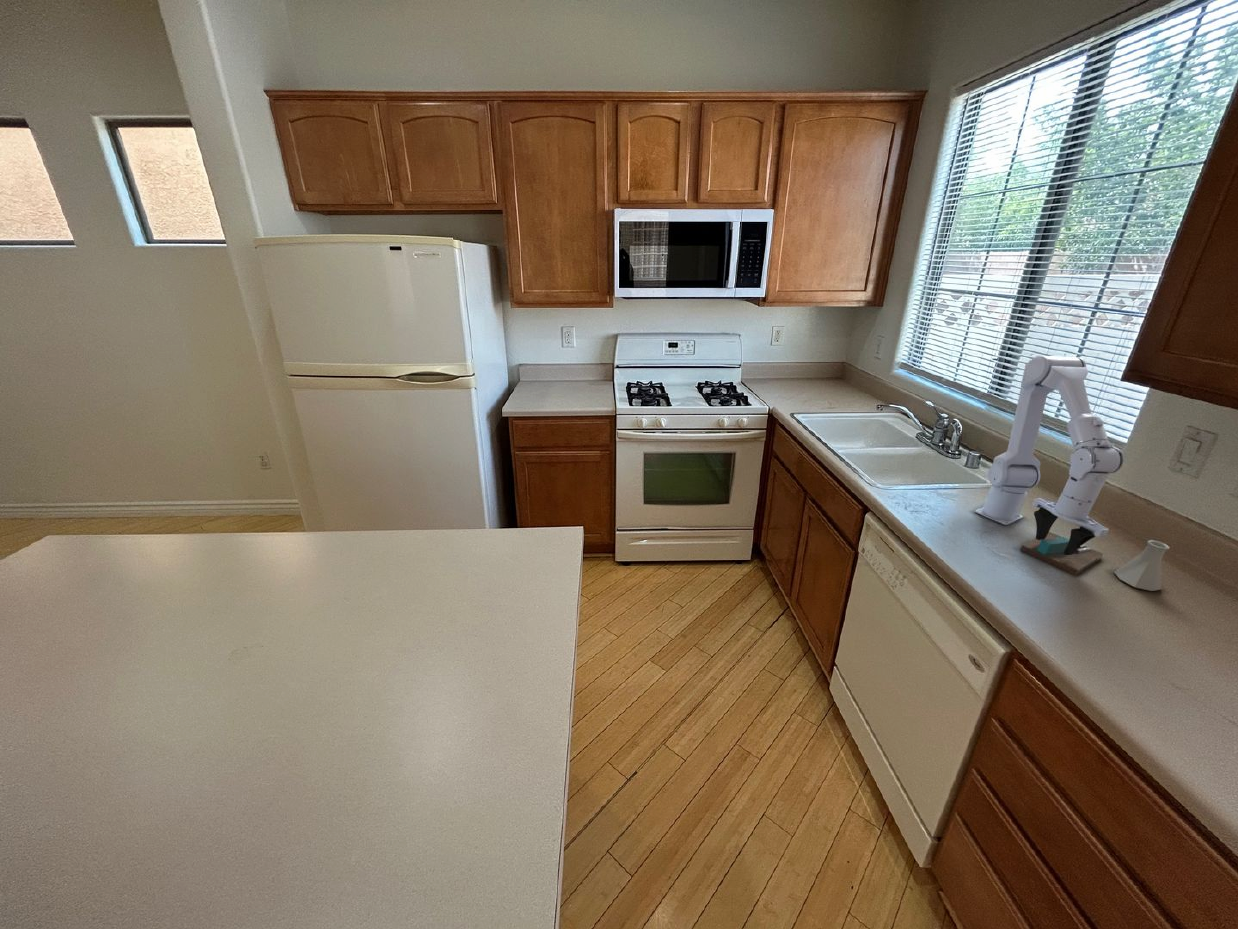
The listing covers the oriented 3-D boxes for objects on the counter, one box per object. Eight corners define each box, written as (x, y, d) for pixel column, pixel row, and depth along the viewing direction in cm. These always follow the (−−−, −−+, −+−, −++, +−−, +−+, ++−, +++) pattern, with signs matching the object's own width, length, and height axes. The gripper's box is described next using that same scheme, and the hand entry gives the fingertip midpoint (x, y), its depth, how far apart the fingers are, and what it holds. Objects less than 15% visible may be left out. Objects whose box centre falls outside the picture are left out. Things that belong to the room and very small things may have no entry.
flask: (1139, 572, 109) (1161, 536, 105) (1169, 593, 103) (1193, 555, 99) (1105, 570, 110) (1126, 533, 106) (1133, 590, 103) (1156, 552, 99)
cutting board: (1046, 536, 123) (1048, 531, 122) (1100, 558, 114) (1103, 553, 113) (1019, 550, 116) (1021, 545, 116) (1075, 575, 108) (1078, 570, 107)
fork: (1049, 557, 111) (1055, 547, 110) (1031, 547, 115) (1036, 537, 114) (1090, 551, 114) (1096, 540, 113) (1071, 541, 118) (1077, 531, 117)
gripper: (1128, 510, 102) (1100, 562, 108) (1057, 480, 115) (1035, 528, 121) (1105, 513, 101) (1077, 566, 106) (1035, 483, 113) (1014, 531, 119)
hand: (1053, 546), depth 113 cm, fingers open, 6 cm apart
